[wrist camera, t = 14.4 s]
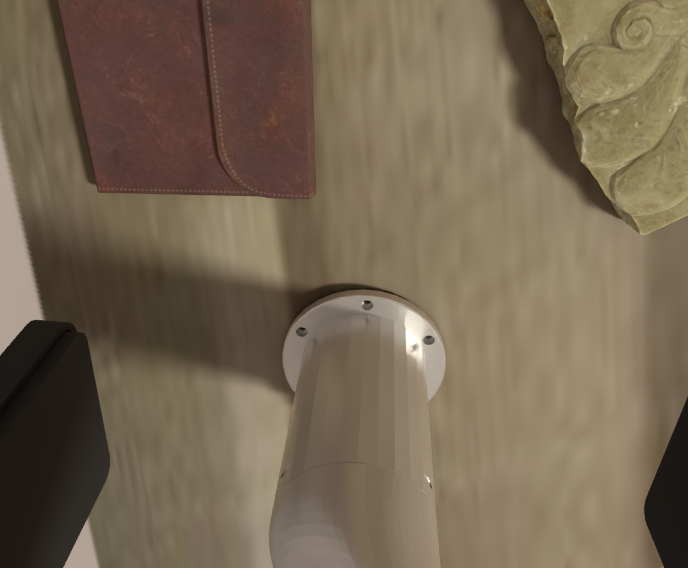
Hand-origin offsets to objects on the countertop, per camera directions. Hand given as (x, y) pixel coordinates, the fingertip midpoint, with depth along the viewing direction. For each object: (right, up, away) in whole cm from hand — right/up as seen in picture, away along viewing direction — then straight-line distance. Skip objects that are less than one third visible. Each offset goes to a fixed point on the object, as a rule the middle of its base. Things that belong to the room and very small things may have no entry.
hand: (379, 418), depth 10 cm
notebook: (-10, +17, +30) cm, 36 cm away
